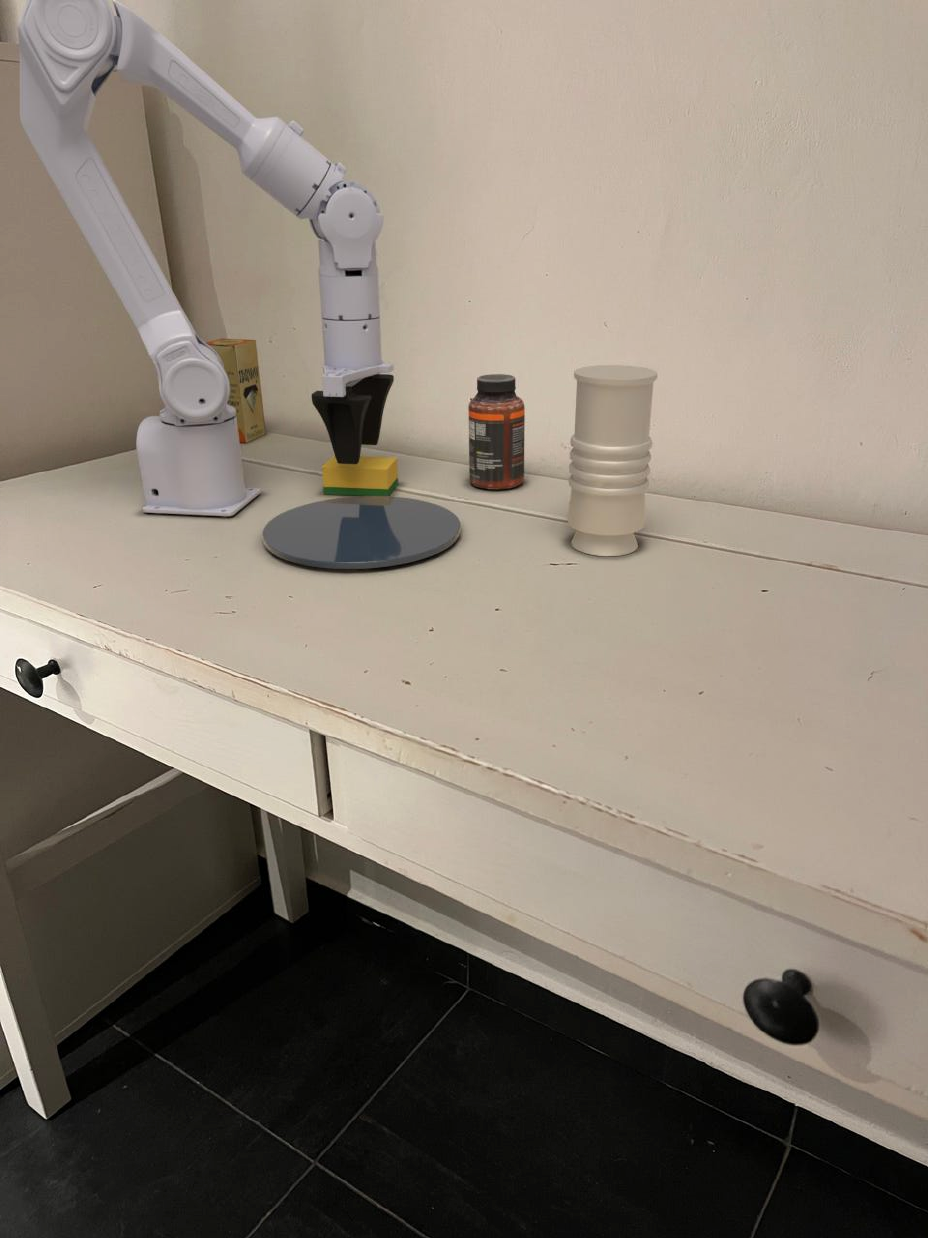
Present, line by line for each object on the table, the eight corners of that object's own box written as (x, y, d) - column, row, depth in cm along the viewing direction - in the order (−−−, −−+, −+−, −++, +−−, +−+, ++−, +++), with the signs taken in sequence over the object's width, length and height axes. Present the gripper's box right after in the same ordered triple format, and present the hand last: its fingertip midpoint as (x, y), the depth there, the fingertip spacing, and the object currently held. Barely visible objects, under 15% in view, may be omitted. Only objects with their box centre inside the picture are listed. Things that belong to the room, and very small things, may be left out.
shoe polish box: (212, 440, 114) (199, 343, 109) (233, 431, 118) (221, 338, 113) (246, 443, 113) (234, 345, 107) (265, 433, 117) (255, 339, 112)
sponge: (323, 494, 93) (321, 466, 92) (336, 481, 97) (334, 455, 96) (388, 497, 92) (387, 468, 90) (398, 484, 96) (397, 457, 94)
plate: (231, 567, 75) (230, 556, 74) (301, 501, 91) (300, 492, 90) (440, 579, 72) (440, 567, 71) (474, 509, 88) (474, 499, 87)
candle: (658, 542, 79) (674, 371, 72) (614, 564, 74) (627, 383, 68) (595, 525, 83) (605, 362, 77) (550, 545, 79) (556, 373, 72)
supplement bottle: (525, 476, 98) (527, 371, 93) (522, 492, 93) (525, 382, 88) (471, 475, 99) (470, 371, 94) (466, 491, 93) (465, 381, 88)
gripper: (371, 327, 80) (378, 474, 86) (406, 309, 93) (410, 437, 98) (296, 326, 81) (308, 470, 87) (342, 308, 94) (349, 435, 99)
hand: (358, 453), depth 93 cm, fingers open, 7 cm apart
